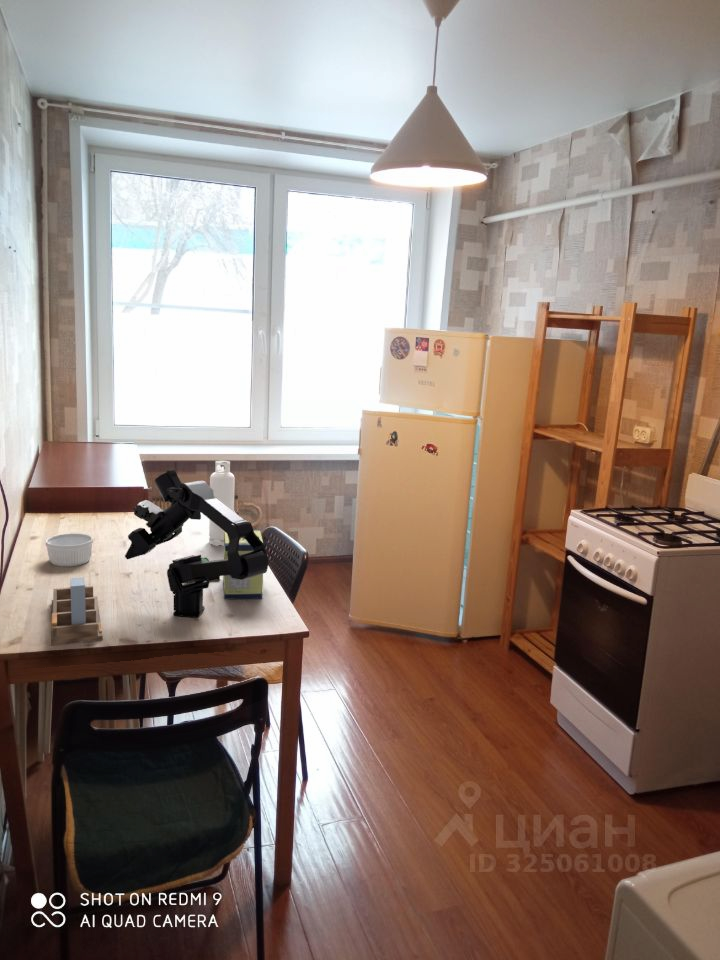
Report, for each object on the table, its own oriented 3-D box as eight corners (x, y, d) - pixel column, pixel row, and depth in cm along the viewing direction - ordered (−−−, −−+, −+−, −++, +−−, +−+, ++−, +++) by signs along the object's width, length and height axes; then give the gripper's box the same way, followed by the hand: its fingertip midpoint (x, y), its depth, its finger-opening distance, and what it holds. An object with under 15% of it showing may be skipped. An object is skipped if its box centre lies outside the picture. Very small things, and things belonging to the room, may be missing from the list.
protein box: (258, 579, 209) (260, 528, 206) (262, 599, 194) (264, 544, 191) (222, 580, 207) (223, 528, 203) (224, 600, 192) (225, 545, 189)
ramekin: (41, 568, 207) (41, 545, 206) (51, 554, 220) (50, 532, 218) (89, 568, 210) (89, 545, 208) (96, 554, 222) (96, 532, 221)
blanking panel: (85, 624, 169) (84, 577, 166) (86, 634, 164) (85, 585, 162) (71, 626, 168) (70, 578, 165) (72, 635, 163) (70, 586, 160)
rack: (97, 599, 187) (96, 583, 186) (102, 639, 164) (102, 621, 163) (51, 603, 182) (51, 586, 181) (50, 645, 160) (50, 626, 159)
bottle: (236, 540, 244) (238, 460, 239) (228, 547, 237) (230, 465, 231) (214, 538, 246) (215, 458, 240) (205, 544, 238) (206, 462, 232)
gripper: (171, 484, 189) (134, 520, 193) (134, 500, 171) (94, 538, 175) (198, 516, 189) (160, 551, 193) (164, 535, 171) (123, 572, 175)
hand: (135, 552), depth 184 cm, fingers open, 9 cm apart
